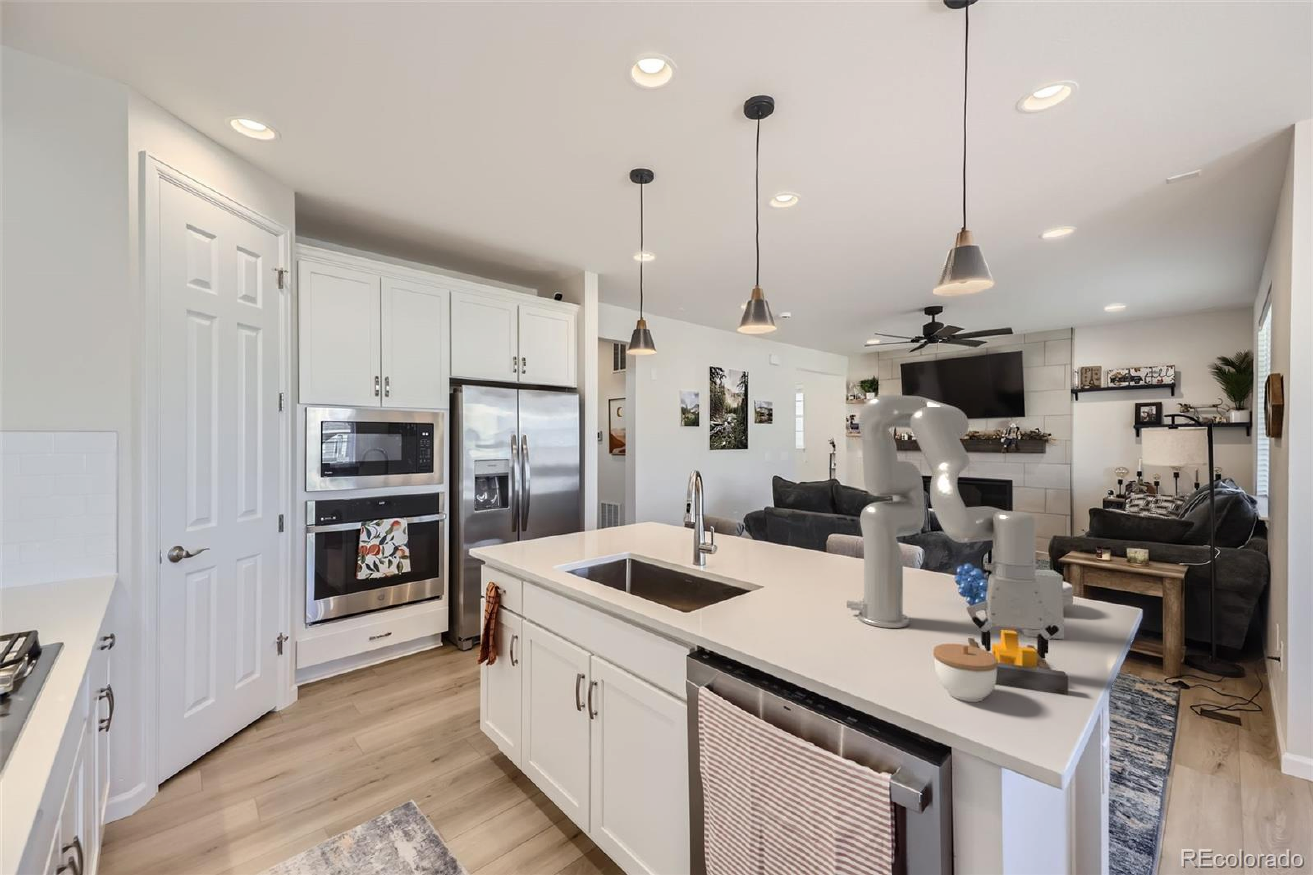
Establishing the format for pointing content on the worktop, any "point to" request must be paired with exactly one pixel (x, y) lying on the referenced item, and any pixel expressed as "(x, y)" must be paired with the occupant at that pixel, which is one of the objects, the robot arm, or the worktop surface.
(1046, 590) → the skincare box
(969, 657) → the lidded jar
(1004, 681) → the rail
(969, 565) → the grapes
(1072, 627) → the worktop surface
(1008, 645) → the pipe clamp
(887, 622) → the robot arm
